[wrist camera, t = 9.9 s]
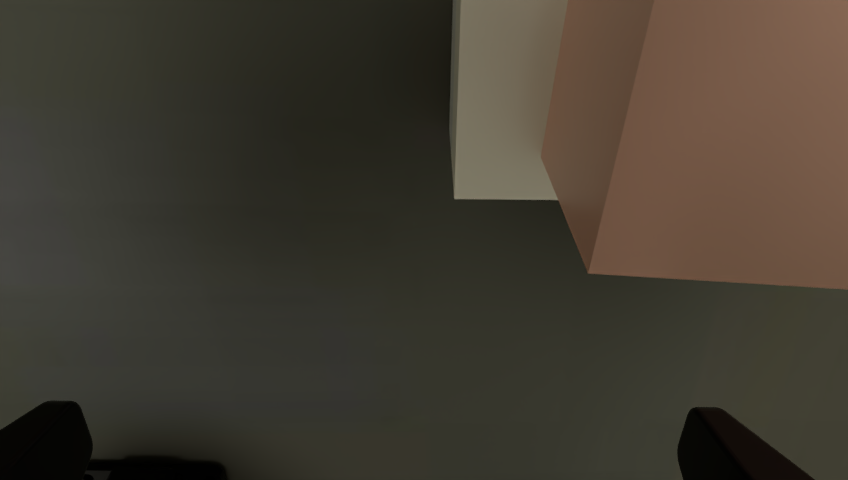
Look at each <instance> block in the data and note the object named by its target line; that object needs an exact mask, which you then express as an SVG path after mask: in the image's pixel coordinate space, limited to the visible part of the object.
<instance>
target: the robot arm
mask: <svg viewBox="0 0 848 480" xmlns="http://www.w3.org/2000/svg"><path fill="white" fill-rule="evenodd" d="M92 449H93V444H92V438H91V435H90V432H89V430H88V427H87V424H86V421H85V418H84V415H83V413H82V410H81V407H80V405H78V404H77V403H76V402H74V401H47V402H44V403H42V404H40V405H39V406H37V407H36V408H34V409H33V410H31V411H29V412H28V413H26V414H25V415H23V416H22V417H20V418H18V419H17V420H15V421H14V422H12V423H11V424H9V425H8V426H6V427H4V428H3V429H1V430H0V480H226V477H225V473H224V471H223V469H222V468H220V467H219V466H216V465H197V464H125V463H89V461H90V458H91V455H92ZM677 454H678V462H679V466H680V470H681V473H682V477H683V480H815V479H813V478H812V477H811V476H809V475H808V474H807V473H805V472H804V471H803V470H801V469H800V468H799V467H798V466H796V465H795V464H794V463H792V462H791V461H790V460H788V459H787V458H786V457H785V456H783V455H782V454H781V453H779V452H778V451H777V450H775V449H774V448H773V447H771V446H770V445H769V444H768V443H766V442H765V441H764V440H762V439H761V438H760V437H758V436H757V435H756V434H755V433H753V432H752V431H751V430H749V429H748V428H747V427H745V426H744V425H743V424H741V423H740V422H739V421H738V420H736V419H735V418H734V417H732V416H731V415H730V414H728V413H727V412H726V411H724V410H723V409H720V408H717V407H695V408H692V409H691V410H690V411H689V413H688V415H687V418H686V421H685V424H684V428H683V431H682V434H681V437H680V441H679V444H678V450H677Z"/></svg>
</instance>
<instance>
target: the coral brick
mask: <svg viewBox="0 0 848 480" xmlns="http://www.w3.org/2000/svg"><path fill="white" fill-rule="evenodd" d="M541 159H542V162H543V164H544V166H545V169H546V171H547V174H548V176H549V179H550V181H551V184H552V186H553V189H554V191H555V193H556V196H557V198H558V201H559V203H560V206H561V208H562V211H563V213H564V216H565V218H566V220H567V223H568V225H569V228H570V230H571V233H572V235H573V238H574V240H575V243H576V245H577V247H578V250H579V252H580V255H581V257H582V260H583V262H584V265H585V267H586V270H587V272H588V274H603V275H620V276H636V277H652V278H669V279H685V280H701V281H718V282H734V283H750V284H767V285H783V286H800V287H816V288H832V289H848V0H568V4H567V10H566V15H565V21H564V27H563V33H562V38H561V44H560V50H559V55H558V61H557V67H556V73H555V78H554V84H553V90H552V96H551V101H550V107H549V113H548V119H547V124H546V130H545V136H544V142H543V147H542V153H541Z"/></svg>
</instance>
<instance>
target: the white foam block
mask: <svg viewBox="0 0 848 480" xmlns="http://www.w3.org/2000/svg"><path fill="white" fill-rule="evenodd" d="M567 4H568V0H453V11H452V47H451V83H450V118H449V134H450V148H451V162H452V176H453V190H454V199H504V200H558V198H557V196H556V193H555V191H554V189H553V186H552V184H551V181H550V179H549V176H548V174H547V171H546V169H545V166H544V164H543V162H542V159H541V153H542V147H543V142H544V136H545V130H546V124H547V119H548V113H549V107H550V101H551V96H552V90H553V84H554V78H555V73H556V67H557V61H558V55H559V50H560V44H561V38H562V33H563V27H564V21H565V15H566V10H567Z"/></svg>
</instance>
